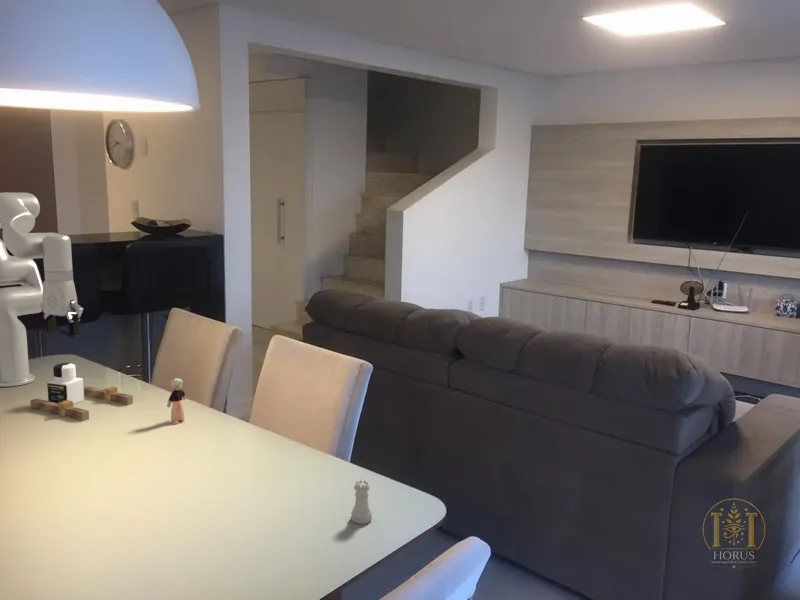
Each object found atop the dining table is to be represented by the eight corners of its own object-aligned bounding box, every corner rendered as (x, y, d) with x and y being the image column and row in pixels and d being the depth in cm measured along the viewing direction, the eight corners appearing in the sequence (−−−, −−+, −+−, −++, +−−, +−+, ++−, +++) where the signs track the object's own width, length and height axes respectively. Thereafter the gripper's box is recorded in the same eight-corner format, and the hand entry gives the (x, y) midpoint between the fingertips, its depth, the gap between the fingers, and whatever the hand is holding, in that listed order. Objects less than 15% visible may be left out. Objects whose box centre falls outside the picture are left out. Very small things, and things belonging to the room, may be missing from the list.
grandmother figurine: (178, 426, 192) (176, 382, 190) (165, 425, 193) (163, 381, 191) (190, 417, 200) (189, 374, 198) (178, 416, 201) (177, 374, 198)
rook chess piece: (360, 512, 145) (361, 476, 144) (376, 519, 142) (377, 482, 141) (346, 519, 142) (346, 483, 140) (362, 527, 139) (362, 489, 137)
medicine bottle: (48, 404, 208) (45, 366, 206) (65, 397, 215) (63, 360, 213) (67, 407, 206) (65, 368, 204) (84, 400, 213) (82, 362, 211)
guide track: (29, 408, 204) (28, 395, 203) (83, 392, 221) (82, 380, 220) (81, 421, 194) (80, 407, 194) (134, 403, 211) (133, 390, 211)
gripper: (27, 276, 204) (31, 332, 207) (68, 280, 197) (72, 338, 200) (50, 273, 211) (53, 328, 214) (90, 277, 204) (93, 334, 206)
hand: (62, 333), depth 207 cm, fingers open, 9 cm apart
